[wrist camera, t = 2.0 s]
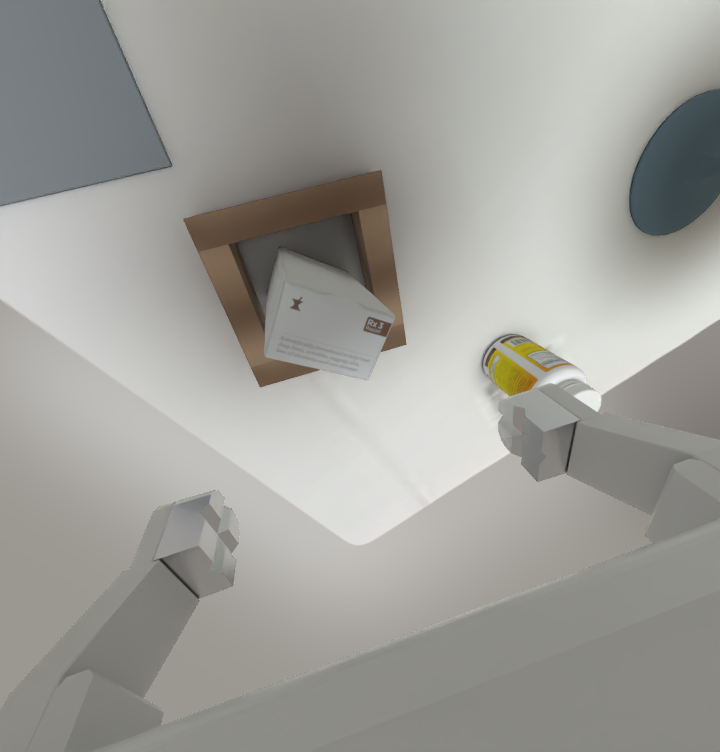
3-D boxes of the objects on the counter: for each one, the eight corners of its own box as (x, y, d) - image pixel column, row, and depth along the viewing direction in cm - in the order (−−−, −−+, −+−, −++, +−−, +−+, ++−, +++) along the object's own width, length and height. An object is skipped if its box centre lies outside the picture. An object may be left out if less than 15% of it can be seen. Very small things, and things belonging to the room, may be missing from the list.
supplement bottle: (493, 387, 36) (559, 448, 28) (472, 356, 33) (539, 412, 25) (534, 356, 35) (617, 409, 27) (517, 321, 33) (603, 368, 24)
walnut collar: (194, 216, 22) (183, 218, 20) (370, 172, 23) (381, 169, 21) (261, 370, 29) (260, 387, 27) (395, 331, 30) (406, 344, 28)
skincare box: (265, 297, 26) (255, 363, 16) (279, 241, 24) (278, 276, 14) (335, 318, 28) (367, 389, 18) (353, 268, 26) (399, 316, 16)
